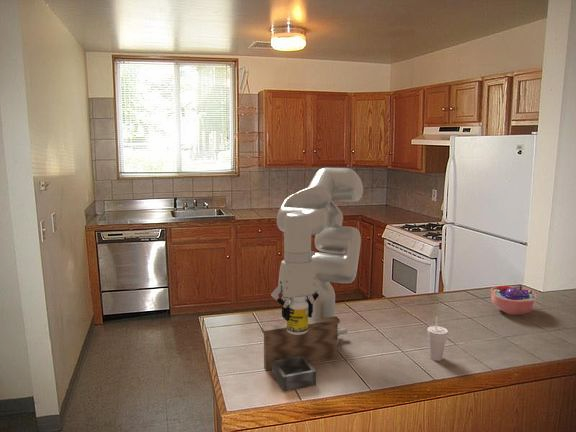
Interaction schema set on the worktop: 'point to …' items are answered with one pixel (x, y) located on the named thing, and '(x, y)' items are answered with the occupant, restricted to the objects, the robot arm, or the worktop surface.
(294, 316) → the pill bottle
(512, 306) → the cell model
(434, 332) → the smoothie
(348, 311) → the worktop surface
